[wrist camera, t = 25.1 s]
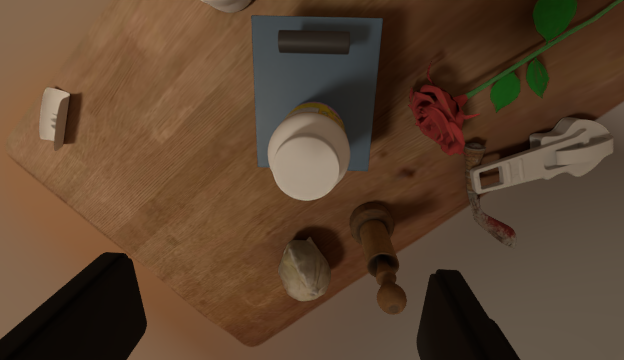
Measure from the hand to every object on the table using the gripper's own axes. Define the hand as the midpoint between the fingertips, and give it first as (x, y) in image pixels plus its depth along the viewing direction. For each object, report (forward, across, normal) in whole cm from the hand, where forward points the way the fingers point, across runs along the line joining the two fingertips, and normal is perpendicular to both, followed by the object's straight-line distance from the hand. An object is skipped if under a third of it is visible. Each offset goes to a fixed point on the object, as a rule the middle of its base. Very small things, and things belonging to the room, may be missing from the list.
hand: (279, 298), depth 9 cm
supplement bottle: (+25, 0, 0) cm, 25 cm away
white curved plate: (+33, +36, +2) cm, 48 cm away
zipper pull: (+34, -30, +4) cm, 45 cm away
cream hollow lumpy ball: (+34, +1, +23) cm, 41 cm away
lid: (+25, 0, -3) cm, 26 cm away
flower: (+34, -24, -8) cm, 43 cm away
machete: (+34, -28, +10) cm, 45 cm away
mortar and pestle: (+34, -9, +16) cm, 39 cm away
